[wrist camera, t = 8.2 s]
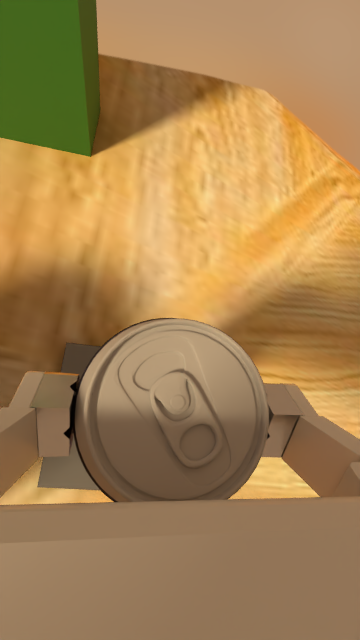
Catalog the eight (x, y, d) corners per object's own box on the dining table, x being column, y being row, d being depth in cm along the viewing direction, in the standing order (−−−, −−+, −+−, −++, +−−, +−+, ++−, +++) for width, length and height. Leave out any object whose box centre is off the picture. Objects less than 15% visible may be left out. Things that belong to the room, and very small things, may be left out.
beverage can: (160, 351, 21) (218, 275, 9) (202, 431, 20) (321, 452, 9) (77, 392, 19) (28, 360, 8) (119, 482, 18) (131, 594, 7)
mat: (191, 492, 28) (194, 494, 27) (39, 485, 26) (37, 487, 25) (200, 360, 32) (202, 359, 31) (67, 344, 30) (66, 342, 29)
